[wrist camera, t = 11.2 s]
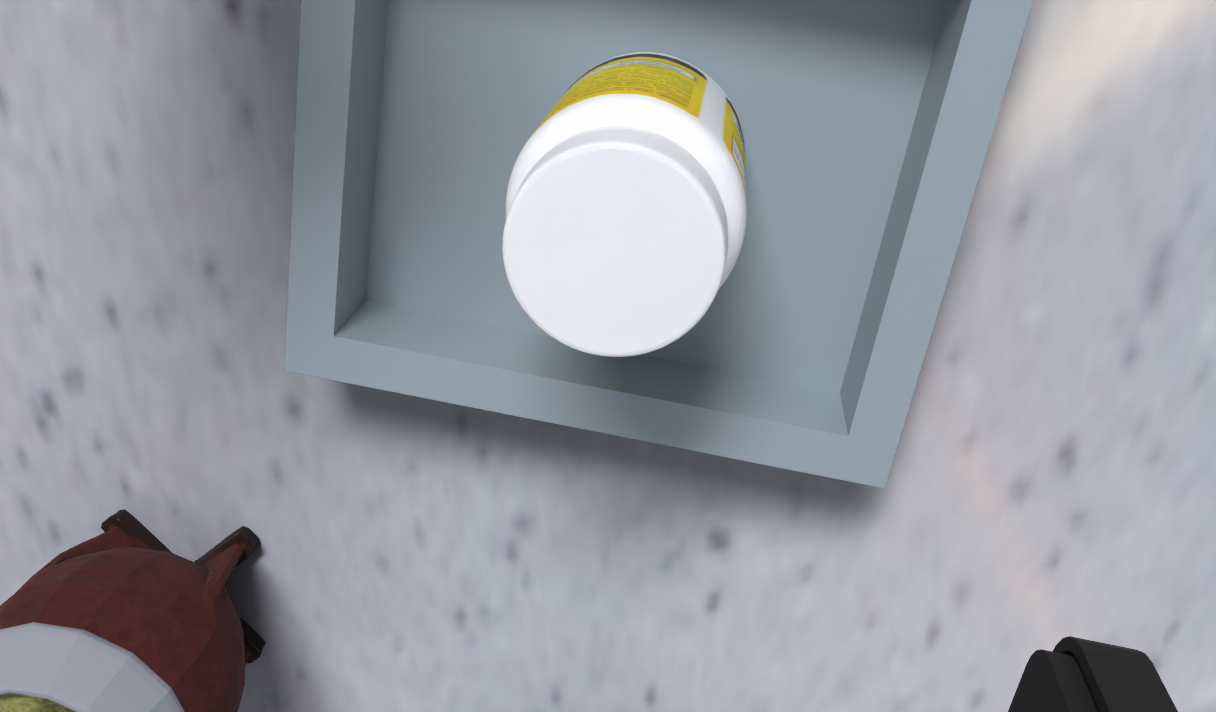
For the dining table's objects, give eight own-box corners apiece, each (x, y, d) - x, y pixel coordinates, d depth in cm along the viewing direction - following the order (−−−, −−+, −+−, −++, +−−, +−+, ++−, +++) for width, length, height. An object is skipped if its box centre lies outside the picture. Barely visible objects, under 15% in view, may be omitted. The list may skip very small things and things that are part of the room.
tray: (1022, -86, 24) (1058, -83, 22) (871, 432, 30) (884, 488, 27) (357, -203, 25) (311, -214, 22) (325, 326, 30) (284, 370, 28)
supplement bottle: (511, 142, 27) (422, 240, 20) (651, 5, 26) (614, 55, 18) (643, 280, 28) (607, 425, 21) (785, 157, 27) (805, 265, 19)
